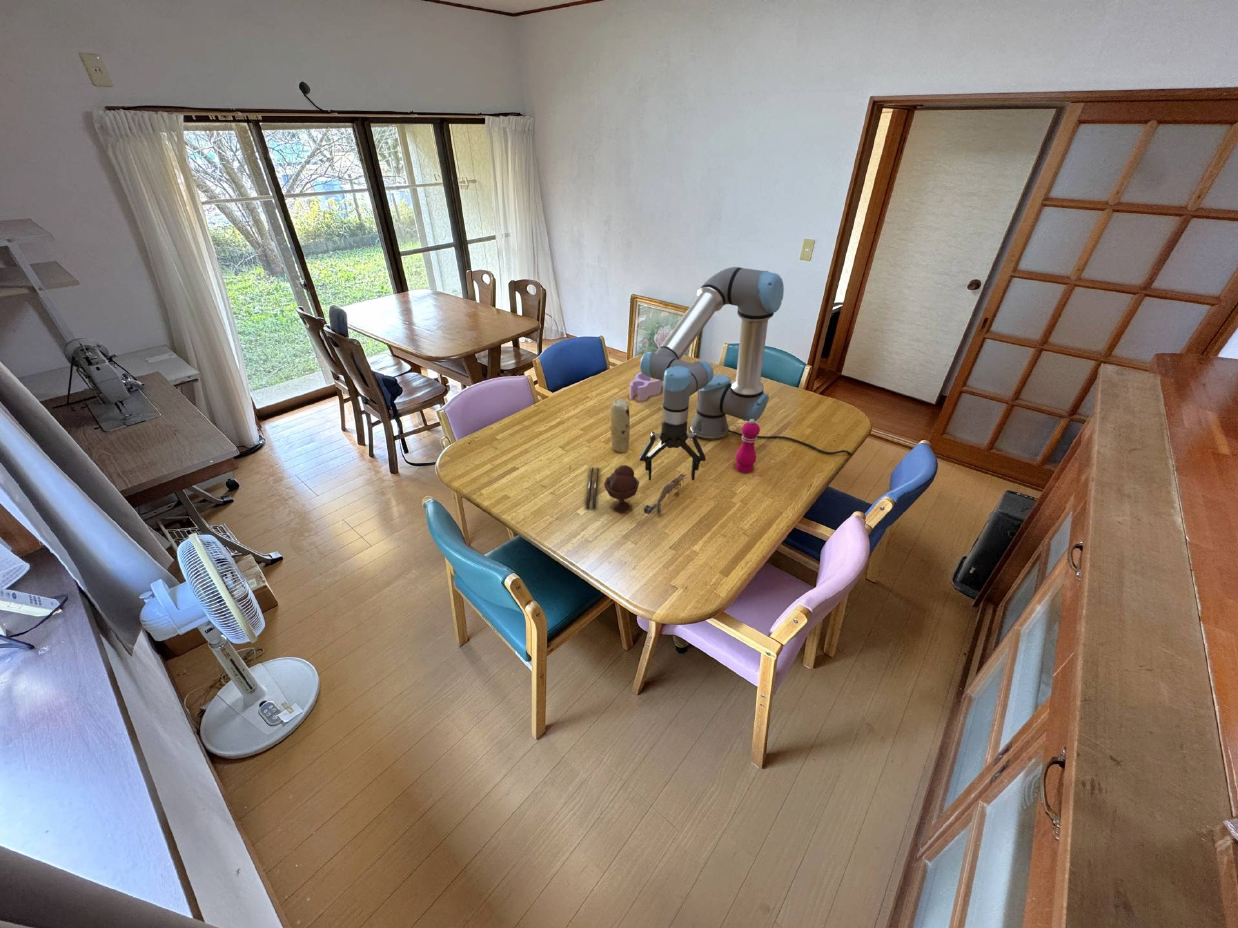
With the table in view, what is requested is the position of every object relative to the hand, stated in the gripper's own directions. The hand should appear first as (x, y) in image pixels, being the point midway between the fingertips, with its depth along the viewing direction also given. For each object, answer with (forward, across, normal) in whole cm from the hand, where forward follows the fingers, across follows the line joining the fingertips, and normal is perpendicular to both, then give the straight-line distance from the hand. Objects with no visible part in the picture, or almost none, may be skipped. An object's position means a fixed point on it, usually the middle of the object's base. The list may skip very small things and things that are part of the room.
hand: (671, 478), depth 153 cm
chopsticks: (+9, +26, -7) cm, 28 cm away
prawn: (+10, +1, +1) cm, 10 cm away
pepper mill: (+10, -28, -20) cm, 36 cm away
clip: (+10, +6, -83) cm, 83 cm away
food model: (+10, +17, -33) cm, 38 cm away
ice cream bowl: (+9, +16, +3) cm, 19 cm away
